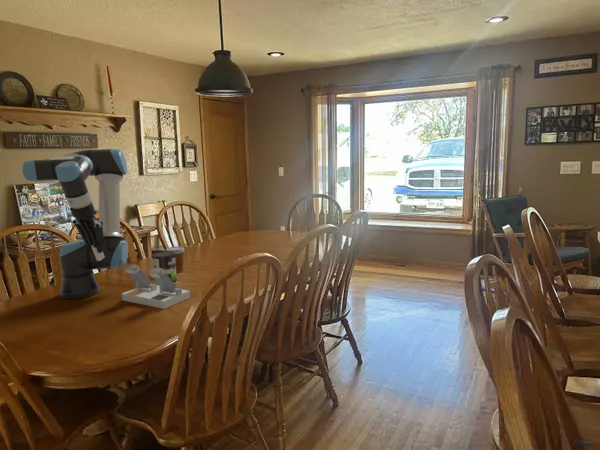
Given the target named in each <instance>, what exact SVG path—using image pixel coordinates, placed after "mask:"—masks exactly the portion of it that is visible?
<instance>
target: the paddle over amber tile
mask: <svg viewBox="0 0 600 450" xmlns="http://www.w3.org/2000/svg"><path fill="white" fill-rule="evenodd" d="M124 271H125V272H126V273H127V274H128V275H129V276H130V278H131V279H132V280H133V281H134V282H135V284H136V283H137V284H138V286H139V287H141V288H146V289H149V288H151V287H150V285H153V284H154V283H153V282H152V281H151V280H150V279H149V278H148V276H147V275H146V274H145V273H144V272H143V270H142V269H141V267H139V265H138V264H132V263H127V265H126V266H125V267H124Z"/></svg>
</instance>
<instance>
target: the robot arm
mask: <svg viewBox="0 0 600 450" xmlns="http://www.w3.org/2000/svg"><path fill="white" fill-rule="evenodd" d="M127 165H128V164H127V160H126V157H125V155H124V152H123V151H122V150H121V149H118V148H115V149H113V148H107V149H102V148H101V149H85V150H83V149H82V150H78V151H73V152H70V153H65V154H64V155H63V156H59V157H51V158H44V159H35V160H34V159H31V160H26V161H24V162H23V163H22V167H21V169H22V170H21V171H22V174H23V177H24V179H25V180H26V181H28V182H43V181H46V182H47V181H48V182H49V181H58V182H59V184H60V186H61V189H62V191H63V193H64V197H65V199H66V201H67V204H68V206H69V209H70V212H71V215H72V217H73V218H74V219H73V220H72V221H71V222H72V224H73V225H74V227H76V229H77V232H79V235H80V236H81V239H78V240H73V241H69V242H66V243H64V244H62V245H60V248H59V257H60V263H61V272H62V278H63V279H62V283H61V287H60V298H62V299H63V300H64V299H66V300H75V299H82V298H87V297H90V296H94V295H97V294H98V293H99V292H100V285H99V284H98V281H97V280H96V278H95V276H94V271H93V270H103V269H117V268H122V267H124V266H125V264H126V262H127V261H128V255H129V243H128V241H127V240H125V238H124V236H123V235H122V234H121V223H120V222H121V215H120V214H121V213H120V211H121V209H120V206H121V205H120V203H121V201H120V199H121V198H120V193H121V192H120V182H122V181H123V180H124V176H125V175H127V173H128V166H127ZM91 176H92V177H94V179H95V180H97V183H98V220H97V217H96V216H95V211H96V209H95V206H94V204H93V202H92V198H91V195H90V192H89V190H88V187H87V184H86V180H87V179H88V178H89V177H91Z"/></svg>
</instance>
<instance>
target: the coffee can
mask: <svg viewBox="0 0 600 450" xmlns="http://www.w3.org/2000/svg"><path fill="white" fill-rule="evenodd" d="M151 260H152V261H151V262H152V268H153V267H155V268H162V269H163V270H164V272H165V273H166V274H167V276H168V277H169V278H170V279H171V281H172V282H173V283H174V285H176V284H178V275H177V273H176V262H175V252H169V251H167V252H165V251H159V252H154V253H152V254H151ZM153 284H157V282H156V281H155V280H154V279H153ZM157 285H158V284H157ZM158 286H159V285H158Z"/></svg>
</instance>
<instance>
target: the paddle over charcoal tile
mask: <svg viewBox="0 0 600 450" xmlns="http://www.w3.org/2000/svg"><path fill="white" fill-rule="evenodd" d="M148 274H149V275H150V277H151V278H152V279H153V281H154V280H155V281H156V282H157V284H158V285H159V286H160V287H161V288H162V290H163V291H164V292H169V293H175V289H178V288H177V286H176V284H174V283H173V282H172V281H171V279H170V278H169V277H168V276H167V274H166V273H165V272H164V270H163V269H162V268H155V267H153V266H152V268H151V269H149V271H148Z"/></svg>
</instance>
